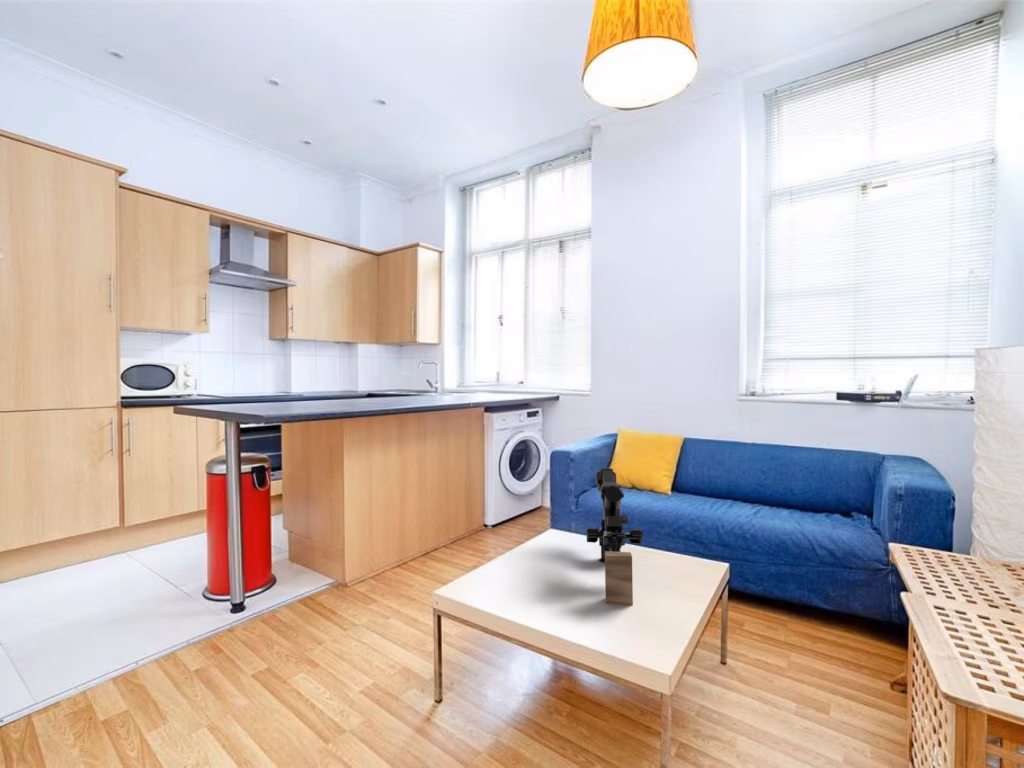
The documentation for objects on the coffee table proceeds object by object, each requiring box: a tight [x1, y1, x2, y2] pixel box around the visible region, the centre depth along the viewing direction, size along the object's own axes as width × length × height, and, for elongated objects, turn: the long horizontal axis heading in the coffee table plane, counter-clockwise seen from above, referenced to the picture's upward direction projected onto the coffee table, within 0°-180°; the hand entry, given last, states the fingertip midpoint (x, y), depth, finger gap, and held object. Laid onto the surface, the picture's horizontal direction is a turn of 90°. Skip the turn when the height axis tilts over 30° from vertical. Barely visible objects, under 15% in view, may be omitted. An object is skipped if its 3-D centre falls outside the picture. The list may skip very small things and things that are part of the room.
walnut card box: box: [604, 551, 634, 606], centre depth 138 cm, size 4×8×15 cm, turn 82°
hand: (615, 559), depth 147 cm, fingers closed
